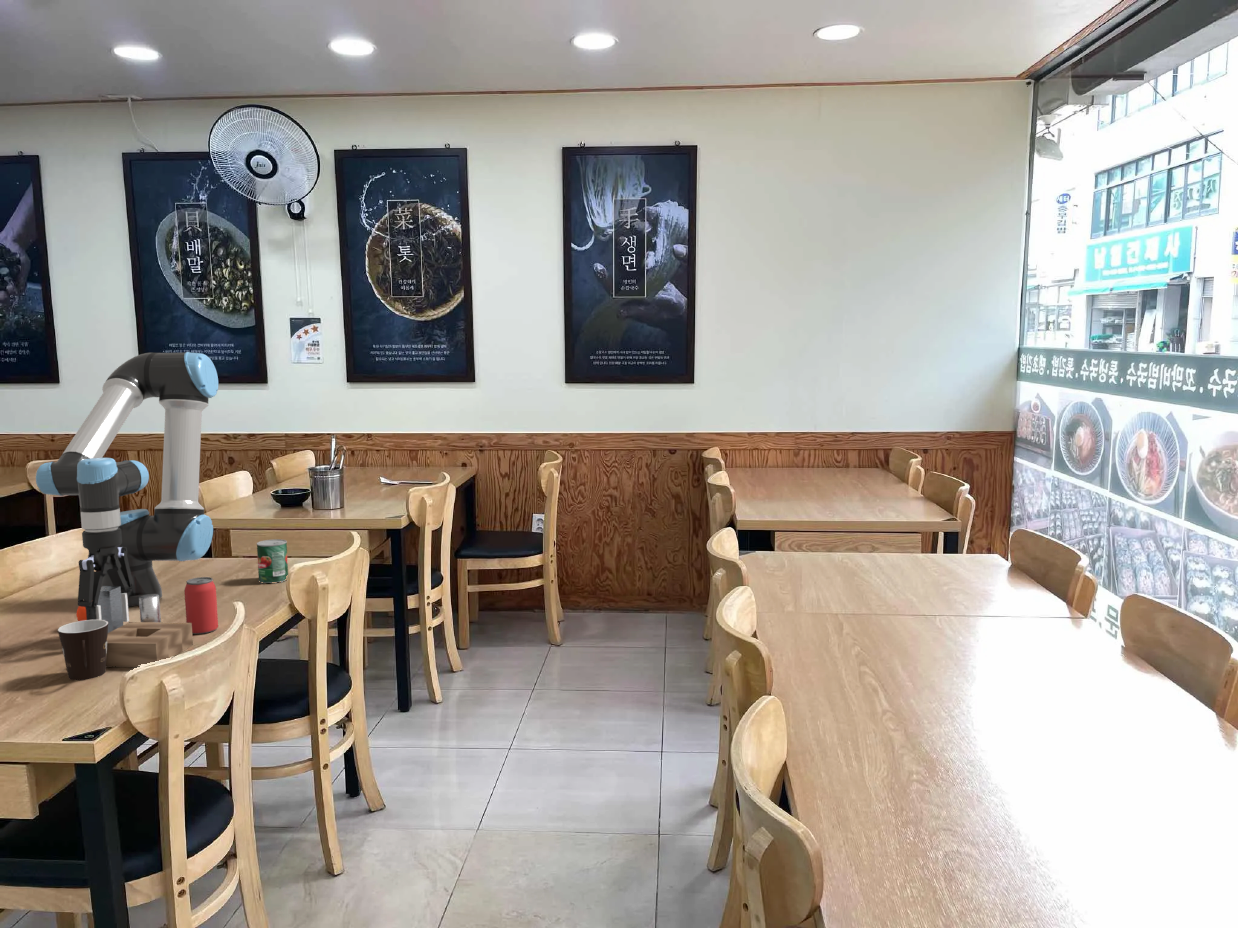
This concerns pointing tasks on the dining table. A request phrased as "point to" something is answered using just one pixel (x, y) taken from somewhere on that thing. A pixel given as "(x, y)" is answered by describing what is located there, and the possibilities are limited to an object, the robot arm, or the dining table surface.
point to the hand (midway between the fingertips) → (109, 627)
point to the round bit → (149, 608)
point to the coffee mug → (84, 648)
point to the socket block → (146, 642)
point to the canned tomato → (272, 560)
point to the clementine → (81, 613)
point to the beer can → (201, 605)
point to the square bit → (111, 606)
